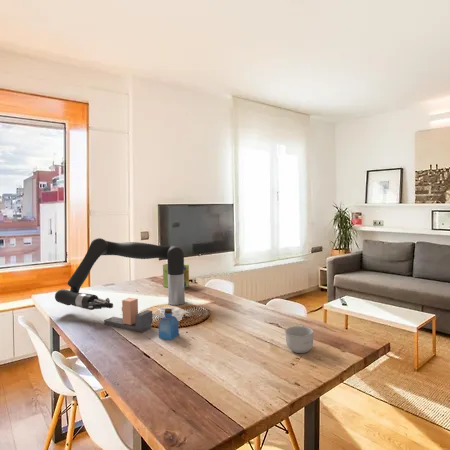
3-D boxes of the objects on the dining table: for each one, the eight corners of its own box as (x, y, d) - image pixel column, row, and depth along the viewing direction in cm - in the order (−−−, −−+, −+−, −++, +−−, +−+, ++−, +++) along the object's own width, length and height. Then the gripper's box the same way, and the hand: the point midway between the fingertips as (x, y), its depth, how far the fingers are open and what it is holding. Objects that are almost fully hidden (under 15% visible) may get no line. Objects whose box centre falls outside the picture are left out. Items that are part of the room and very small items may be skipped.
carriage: (120, 322, 162) (120, 299, 162) (128, 319, 167) (127, 297, 166) (130, 324, 159) (130, 301, 159) (138, 321, 164) (137, 298, 163)
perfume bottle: (178, 335, 152) (178, 308, 152) (170, 340, 147) (170, 312, 146) (167, 333, 155) (166, 306, 154) (158, 338, 149) (158, 310, 149)
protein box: (179, 289, 232) (179, 266, 231) (162, 286, 240) (162, 264, 239) (189, 286, 241) (189, 264, 240) (172, 283, 249) (172, 262, 248)
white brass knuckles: (193, 319, 174) (168, 325, 165) (176, 310, 189) (151, 316, 180) (193, 312, 174) (168, 318, 165) (175, 304, 188) (151, 309, 179)
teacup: (307, 358, 128) (308, 337, 128) (280, 352, 134) (280, 332, 134) (319, 345, 140) (319, 325, 140) (293, 339, 146) (293, 321, 145)
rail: (102, 324, 166) (102, 308, 165) (115, 319, 173) (114, 304, 173) (141, 333, 155) (140, 315, 154) (152, 327, 162) (152, 310, 161)
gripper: (75, 297, 170) (101, 301, 162) (97, 291, 181) (121, 295, 173) (76, 312, 170) (101, 317, 162) (97, 305, 182) (122, 309, 174)
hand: (111, 305), depth 168 cm, fingers closed
